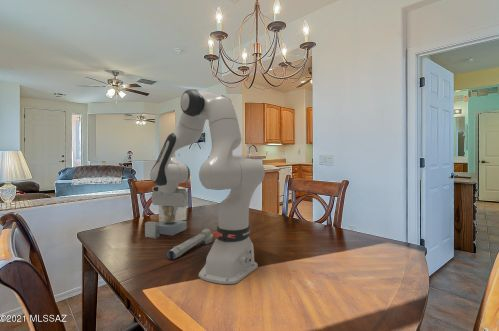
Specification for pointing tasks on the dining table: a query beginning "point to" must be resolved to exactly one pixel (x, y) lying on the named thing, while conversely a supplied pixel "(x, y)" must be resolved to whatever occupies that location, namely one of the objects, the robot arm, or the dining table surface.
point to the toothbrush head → (190, 244)
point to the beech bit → (169, 214)
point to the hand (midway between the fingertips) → (169, 214)
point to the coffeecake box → (179, 213)
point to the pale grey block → (152, 229)
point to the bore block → (172, 227)
